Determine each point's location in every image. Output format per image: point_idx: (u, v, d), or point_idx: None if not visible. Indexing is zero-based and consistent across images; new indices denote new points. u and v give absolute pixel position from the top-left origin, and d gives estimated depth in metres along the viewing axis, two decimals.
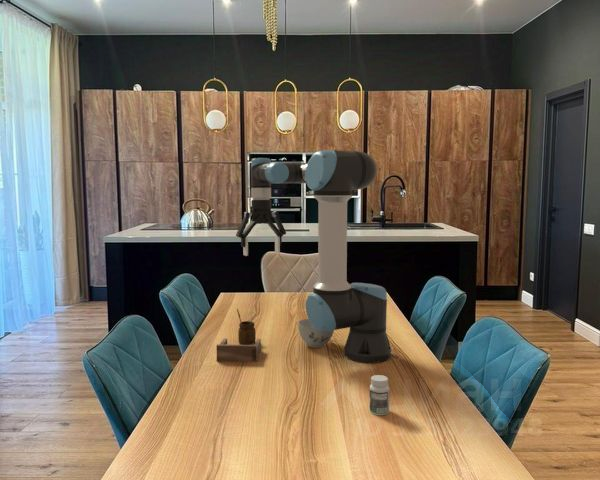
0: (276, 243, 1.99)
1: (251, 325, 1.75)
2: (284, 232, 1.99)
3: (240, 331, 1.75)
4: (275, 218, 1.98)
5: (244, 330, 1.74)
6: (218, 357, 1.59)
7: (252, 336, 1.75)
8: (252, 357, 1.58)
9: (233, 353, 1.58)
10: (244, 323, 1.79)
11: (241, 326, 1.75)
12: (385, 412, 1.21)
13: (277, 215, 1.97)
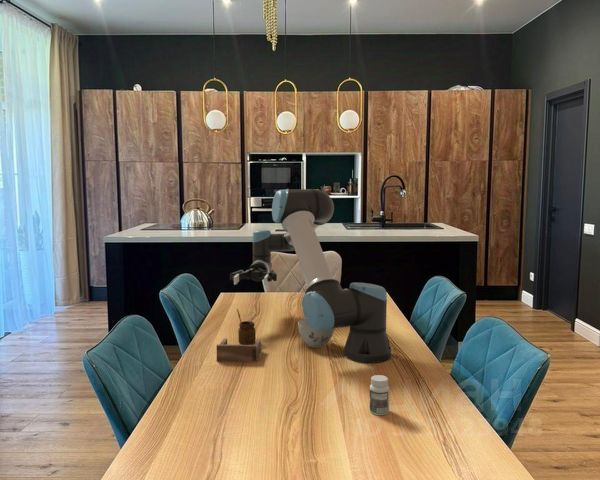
0: None
1: (251, 325, 1.75)
2: (274, 274, 1.91)
3: (240, 331, 1.75)
4: None
5: (244, 330, 1.74)
6: (218, 357, 1.59)
7: (252, 336, 1.75)
8: (252, 357, 1.58)
9: (233, 353, 1.58)
10: (244, 323, 1.79)
11: (241, 326, 1.75)
12: (385, 412, 1.21)
13: (271, 270, 1.99)
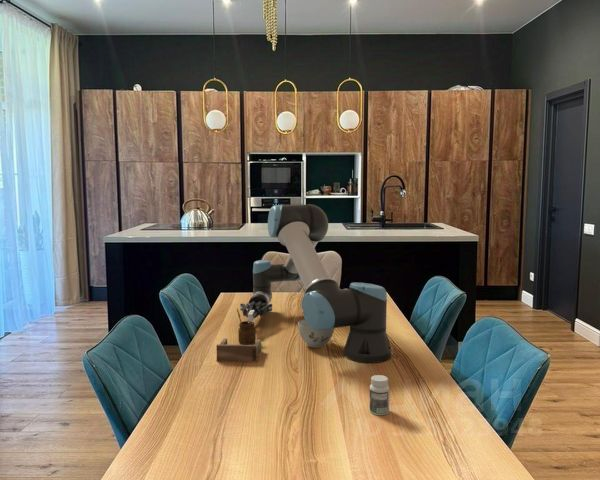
0: None
1: (251, 325, 1.75)
2: (261, 309, 1.92)
3: (240, 331, 1.75)
4: None
5: (244, 330, 1.74)
6: (218, 357, 1.59)
7: (252, 336, 1.75)
8: (252, 357, 1.58)
9: (233, 353, 1.58)
10: (244, 323, 1.79)
11: (241, 326, 1.75)
12: (385, 412, 1.21)
13: (269, 304, 1.99)
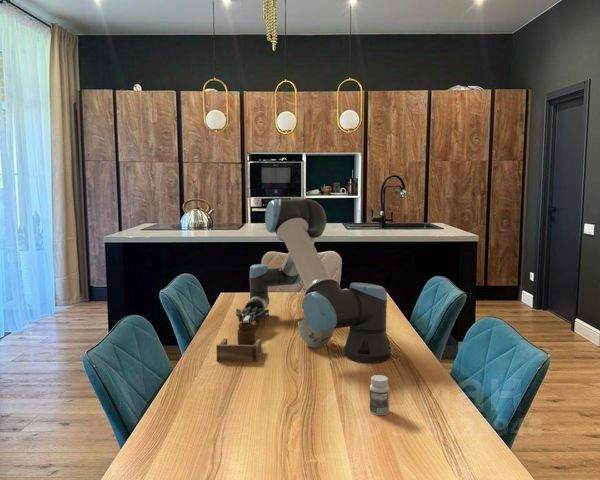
0: None
1: (250, 326, 1.74)
2: (257, 315, 1.86)
3: (239, 332, 1.74)
4: None
5: (243, 331, 1.73)
6: (218, 357, 1.59)
7: (252, 337, 1.74)
8: (252, 357, 1.58)
9: (233, 353, 1.58)
10: (243, 324, 1.77)
11: (240, 327, 1.73)
12: (385, 412, 1.21)
13: (265, 310, 1.93)
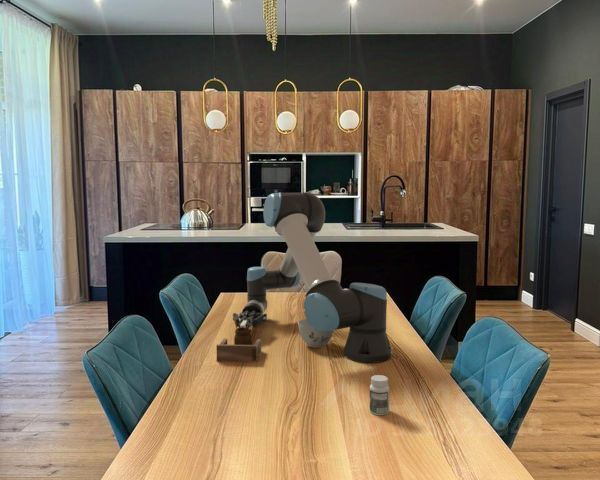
0: None
1: (248, 331, 1.67)
2: (254, 319, 1.80)
3: (236, 338, 1.67)
4: None
5: (241, 337, 1.67)
6: (218, 357, 1.59)
7: (249, 343, 1.67)
8: (252, 357, 1.58)
9: (233, 353, 1.58)
10: (240, 329, 1.71)
11: (237, 333, 1.67)
12: (385, 412, 1.21)
13: (263, 314, 1.87)
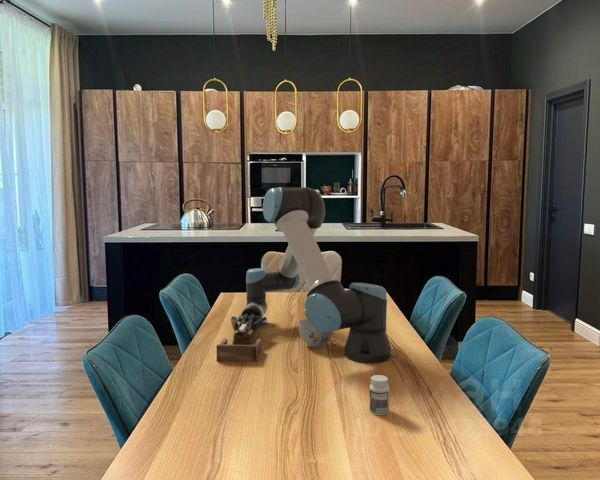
0: None
1: (246, 336, 1.62)
2: (254, 323, 1.74)
3: (234, 343, 1.62)
4: None
5: (239, 342, 1.61)
6: (218, 357, 1.59)
7: None
8: (252, 357, 1.58)
9: (233, 353, 1.58)
10: (238, 334, 1.66)
11: (235, 337, 1.62)
12: (385, 412, 1.21)
13: (263, 318, 1.81)
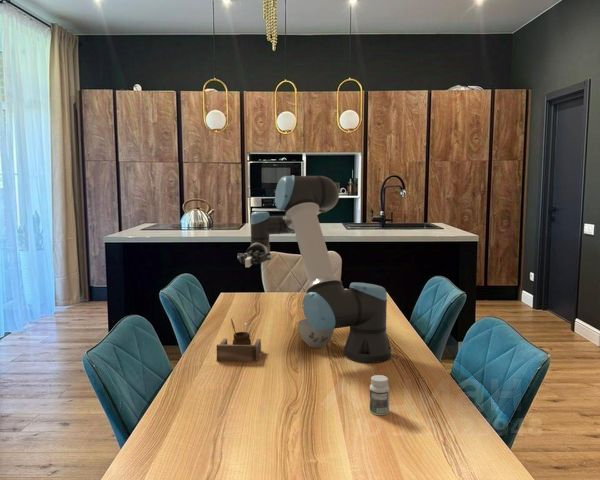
0: None
1: (246, 336, 1.62)
2: (259, 256, 1.84)
3: (234, 343, 1.62)
4: None
5: (239, 342, 1.61)
6: (218, 357, 1.59)
7: None
8: (252, 357, 1.58)
9: (233, 353, 1.58)
10: (239, 334, 1.66)
11: (235, 337, 1.62)
12: (385, 412, 1.21)
13: (267, 253, 1.91)
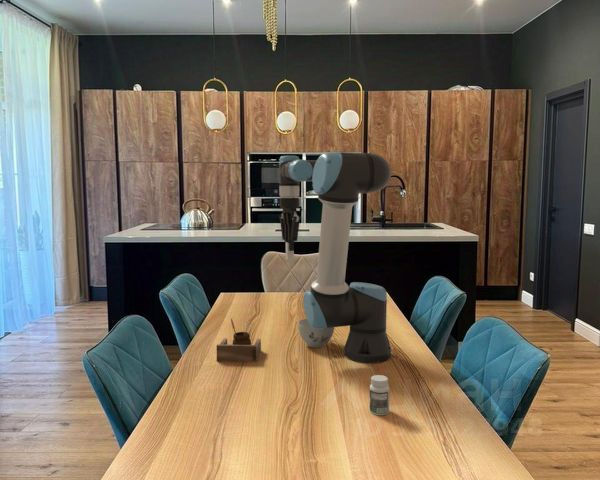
0: None
1: (246, 336, 1.62)
2: (291, 238, 1.91)
3: (234, 343, 1.62)
4: None
5: (239, 342, 1.61)
6: (218, 357, 1.59)
7: None
8: (252, 357, 1.58)
9: (233, 353, 1.58)
10: (238, 334, 1.66)
11: (235, 337, 1.62)
12: (385, 412, 1.21)
13: (293, 220, 1.88)
